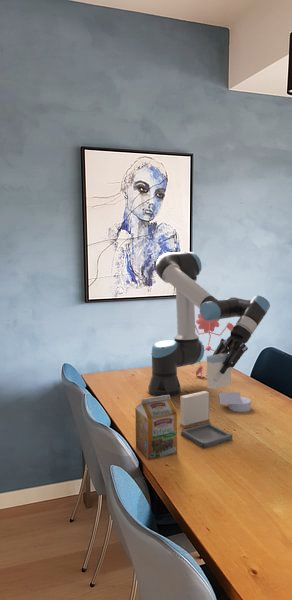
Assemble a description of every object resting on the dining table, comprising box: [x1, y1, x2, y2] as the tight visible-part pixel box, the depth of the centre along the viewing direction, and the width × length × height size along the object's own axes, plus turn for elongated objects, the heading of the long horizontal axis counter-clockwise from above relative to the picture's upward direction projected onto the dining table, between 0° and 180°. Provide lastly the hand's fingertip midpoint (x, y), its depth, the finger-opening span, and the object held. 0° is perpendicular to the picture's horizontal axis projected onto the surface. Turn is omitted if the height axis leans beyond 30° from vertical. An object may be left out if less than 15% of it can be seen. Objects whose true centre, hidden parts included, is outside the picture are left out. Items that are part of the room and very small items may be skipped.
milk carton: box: [134, 395, 178, 461], centre depth 159 cm, size 11×10×19 cm
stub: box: [206, 353, 232, 390], centre depth 181 cm, size 4×9×12 cm, turn 123°
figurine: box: [188, 313, 235, 379], centre depth 246 cm, size 15×26×35 cm, turn 96°
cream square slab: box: [179, 390, 211, 430], centre depth 182 cm, size 3×12×12 cm, turn 122°
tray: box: [180, 422, 233, 450], centre depth 170 cm, size 13×13×2 cm
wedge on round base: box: [218, 391, 252, 413], centre depth 199 cm, size 9×7×13 cm
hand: (211, 378), depth 179 cm, fingers closed on stub, 3 cm apart
